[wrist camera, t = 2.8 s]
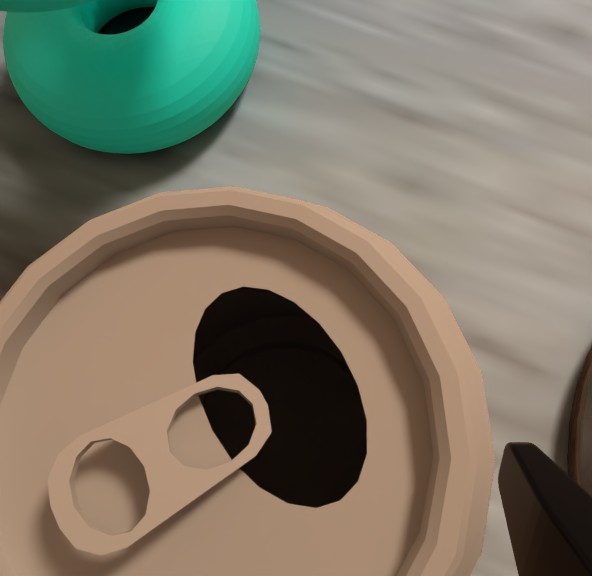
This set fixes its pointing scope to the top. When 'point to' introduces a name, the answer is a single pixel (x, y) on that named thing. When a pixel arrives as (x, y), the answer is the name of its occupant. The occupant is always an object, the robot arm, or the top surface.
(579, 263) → the top surface
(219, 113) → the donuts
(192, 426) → the can
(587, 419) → the duct stub
